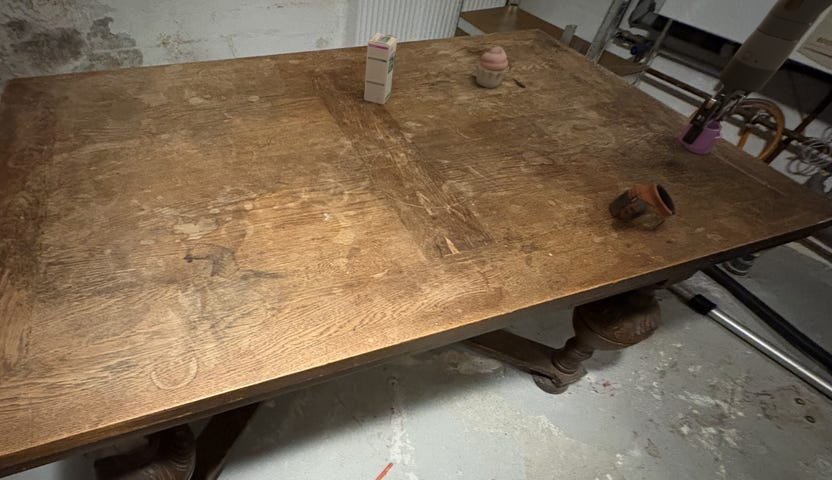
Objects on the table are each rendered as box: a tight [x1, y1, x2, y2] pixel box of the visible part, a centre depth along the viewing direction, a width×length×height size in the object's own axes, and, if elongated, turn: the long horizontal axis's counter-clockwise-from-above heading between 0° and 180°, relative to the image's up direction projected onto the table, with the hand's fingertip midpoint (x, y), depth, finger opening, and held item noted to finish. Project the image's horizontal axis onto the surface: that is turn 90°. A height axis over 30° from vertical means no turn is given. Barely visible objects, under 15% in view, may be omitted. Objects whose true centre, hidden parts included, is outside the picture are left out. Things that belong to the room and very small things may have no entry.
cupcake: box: [475, 45, 510, 89], centre depth 113 cm, size 9×9×10 cm
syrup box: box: [363, 32, 398, 106], centre depth 102 cm, size 6×6×14 cm
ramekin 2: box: [682, 131, 723, 155], centre depth 100 cm, size 6×6×4 cm
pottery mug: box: [610, 181, 677, 230], centre depth 80 cm, size 12×10×8 cm
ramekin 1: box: [678, 117, 723, 149], centre depth 89 cm, size 6×6×4 cm
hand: (695, 138), depth 90 cm, fingers closed on ramekin 1, 6 cm apart
